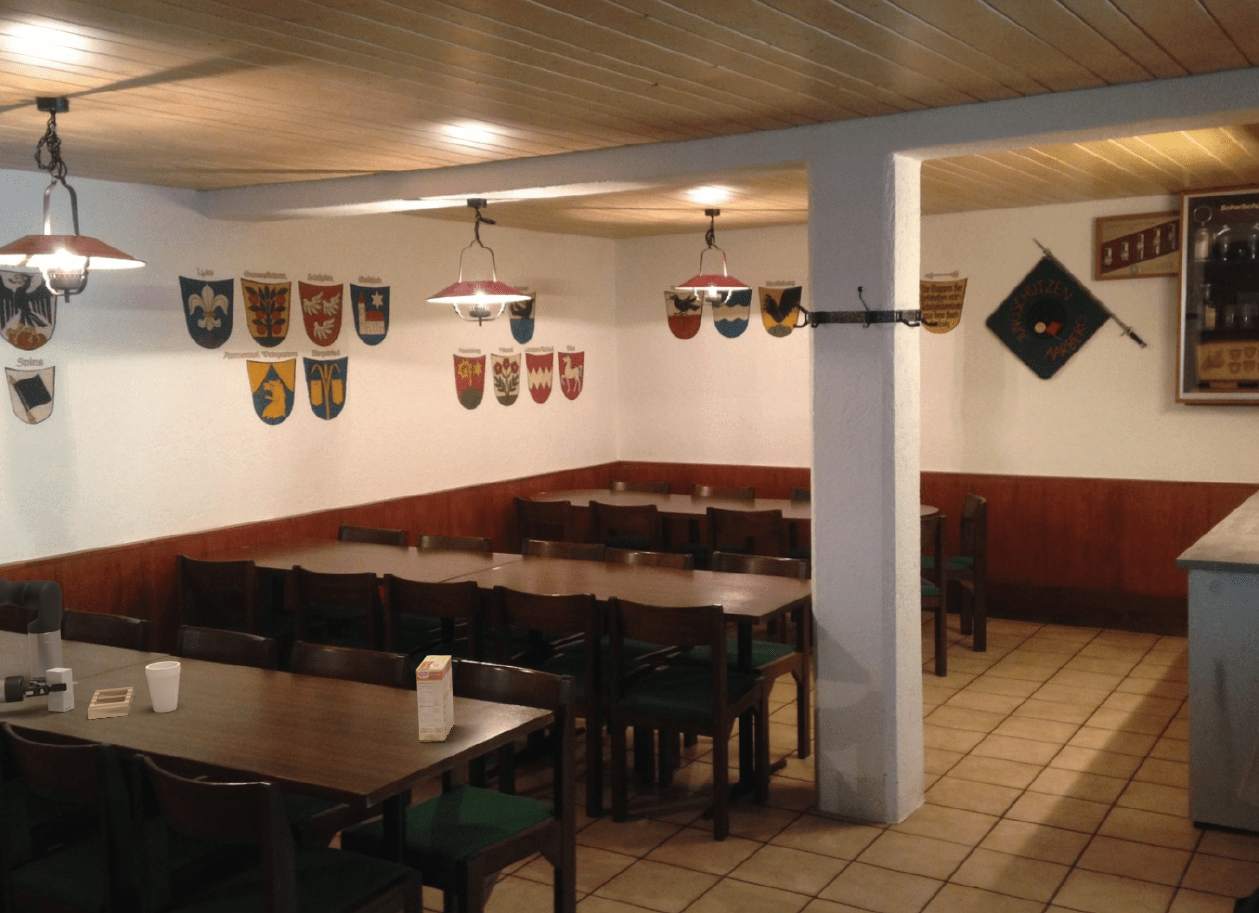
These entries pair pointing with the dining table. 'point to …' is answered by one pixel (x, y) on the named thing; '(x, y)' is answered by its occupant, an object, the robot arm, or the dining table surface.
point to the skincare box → (63, 698)
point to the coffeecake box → (435, 697)
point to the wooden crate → (111, 703)
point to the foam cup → (163, 685)
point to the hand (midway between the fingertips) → (68, 683)
